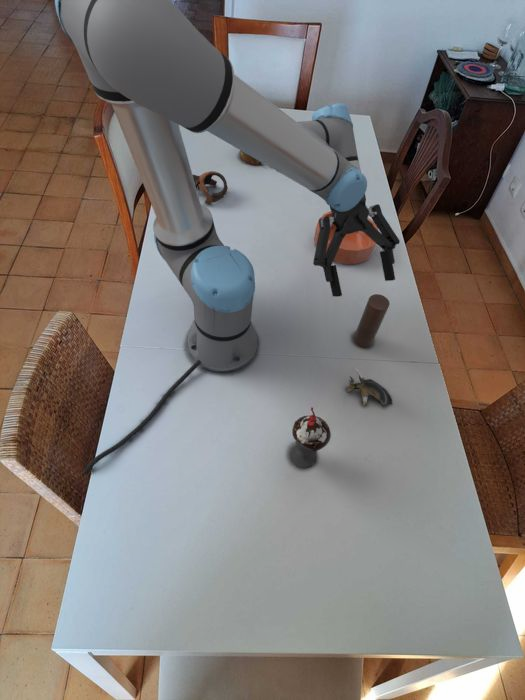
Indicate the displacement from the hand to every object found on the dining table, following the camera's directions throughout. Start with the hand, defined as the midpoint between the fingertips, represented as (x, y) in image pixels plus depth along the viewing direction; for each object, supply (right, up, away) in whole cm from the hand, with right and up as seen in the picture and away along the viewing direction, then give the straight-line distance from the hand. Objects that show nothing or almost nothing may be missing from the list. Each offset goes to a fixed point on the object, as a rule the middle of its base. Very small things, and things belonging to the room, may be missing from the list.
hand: (364, 288), depth 98 cm
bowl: (0, +15, +26) cm, 30 cm away
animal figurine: (0, -23, -3) cm, 24 cm away
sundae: (-14, -34, -12) cm, 38 cm away
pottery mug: (-38, +32, +34) cm, 60 cm away
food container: (-27, +48, +47) cm, 72 cm away
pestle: (+1, -11, +6) cm, 13 cm away
